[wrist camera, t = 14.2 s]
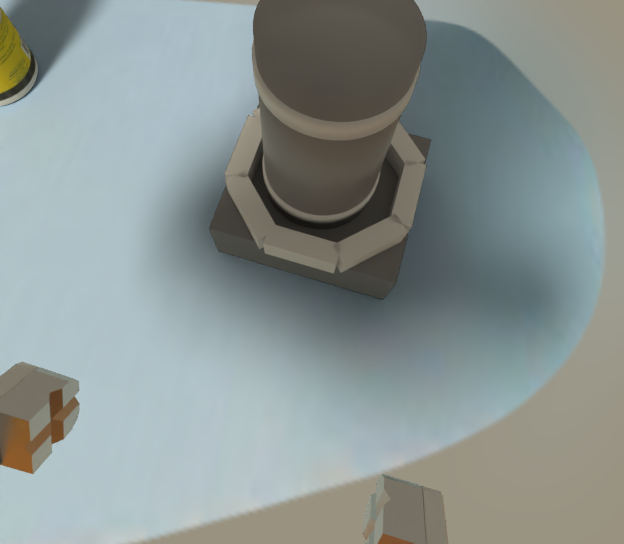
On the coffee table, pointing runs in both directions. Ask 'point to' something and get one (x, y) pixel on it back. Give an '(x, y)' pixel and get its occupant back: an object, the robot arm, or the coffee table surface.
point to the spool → (331, 99)
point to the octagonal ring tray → (322, 242)
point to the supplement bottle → (14, 63)
